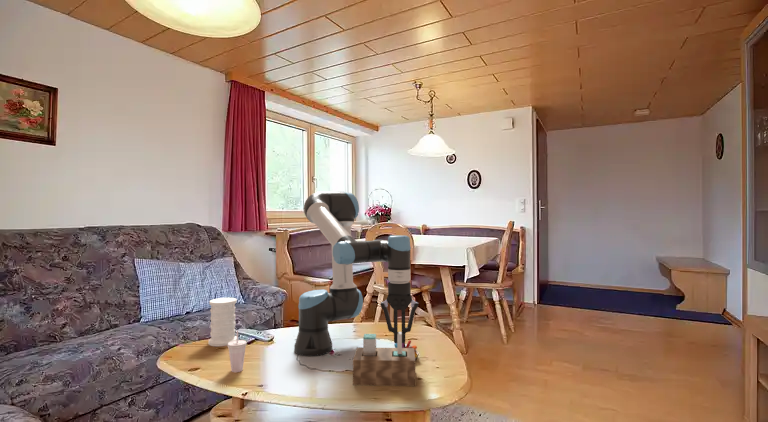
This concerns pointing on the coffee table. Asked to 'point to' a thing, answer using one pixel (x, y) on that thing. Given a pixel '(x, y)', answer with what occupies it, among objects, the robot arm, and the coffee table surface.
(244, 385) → the coffee table surface
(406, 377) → the socket block
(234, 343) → the smoothie
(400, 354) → the peg
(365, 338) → the peg
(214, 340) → the decorative container
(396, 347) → the rainbow disc car
